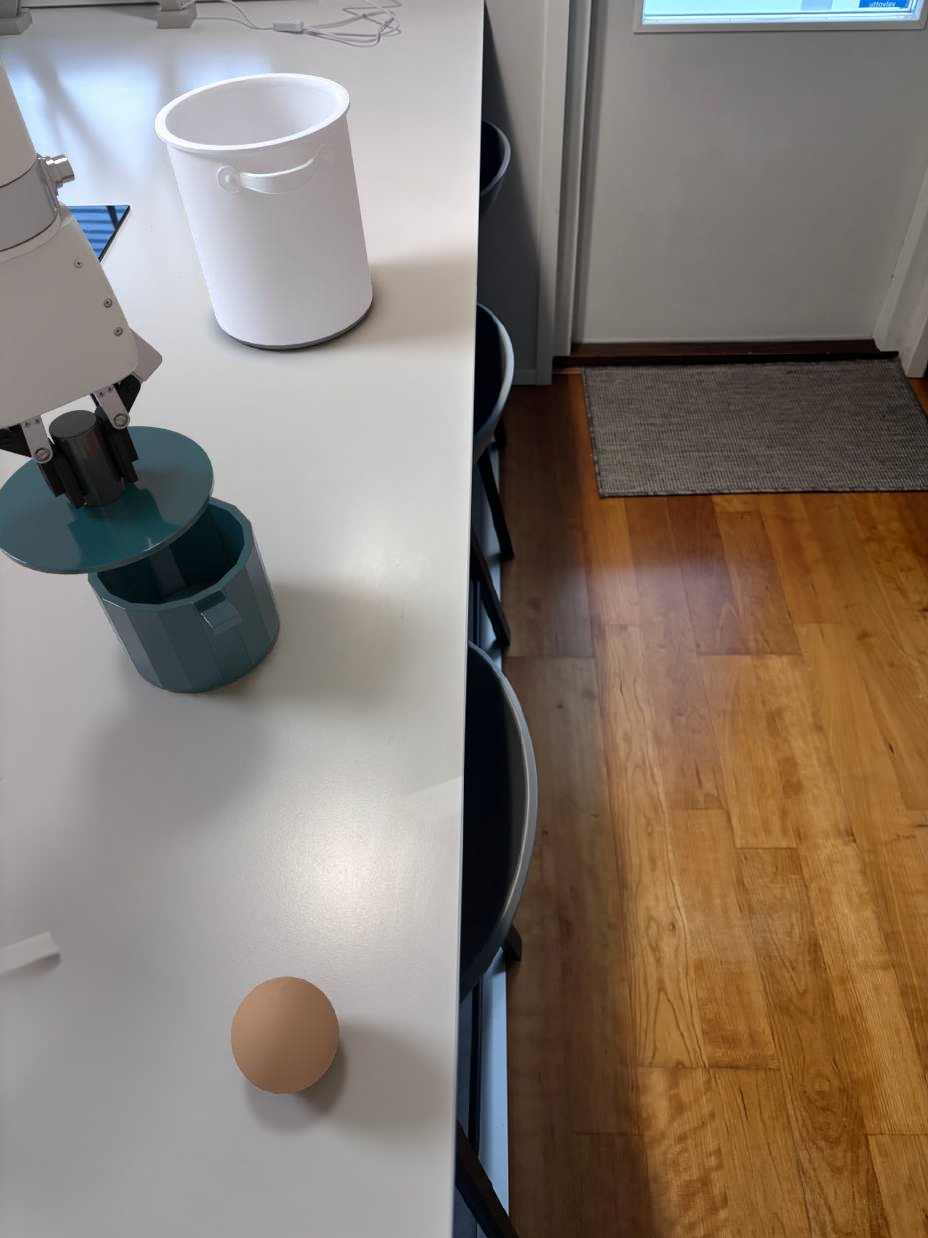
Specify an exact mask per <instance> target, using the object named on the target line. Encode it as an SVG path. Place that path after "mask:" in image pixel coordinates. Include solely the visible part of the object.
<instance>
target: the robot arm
mask: <svg viewBox="0 0 928 1238" xmlns="http://www.w3.org/2000/svg"><path fill="white" fill-rule="evenodd" d="M33 143H34V142H33V140H32V138H31V135H30V133H29V130H28V127H27V124H26V122H25V119H24V116H23V114H22V111H21V108H20V106H19V103H18V101H17V97H16V95H15V92H14V90H13V88H12V85H11V82H10V79H9V77H8V75H7V71H6V69H5V66H4V63H3V61H2V58H1V57H0V450H1V451H5V452H8V453H12V454H16V455H18V456H23V457H26V458H29V459H32V458H33V460H34V461H35V462H36V463H37V465H38V467H39V469H40V472H41V474H42V476H43V478H44V480H45V482H46V484H47V485H48V487H49V489H50V490H51V492H52V493H53V495H54V496H55V497H58V496H60V495H62V494H65V496H66V497H67V498H68V499H69V501H70V502H71V503H72V505H73V506H74V507H75V508H76V509H78V508H80V507H83V506H84V505H83V504H84V503H86V502H85V500H84V497H83V495H82V493H81V491H80V489H79V487H78V484H77V482H76V480H75V478H74V476H73V474H72V471H71V469H70V467H69V465H68V463H67V461H66V459H65V457H64V456H63V454H62V453H61V452H60V451H59V450H58V448H57V447H56V446H55V445H54V442H53V440H52V439H51V437H48V434H47V430H46V428H45V425H44V421H43V419H42V416H43V415H44V414H46V413H49V412H52V411H54V410H57V409H58V408H59V409H60V407H63V406H66V405H68V404H70V403H73V402H75V401H78V400H80V399H83V398H84V397H87V396H89V398H90V400H91V402H92V403H93V405H94V407H95V410H94V412H93V413H94V414H95V415H96V416H97V418H98V421H99V423H100V425H101V428H102V431H103V433H104V435H105V438H106V440H107V443H108V445H109V447H110V450H111V452H112V455H113V457H114V459H115V462H116V464H117V467H118V469H119V471H120V474H121V476H122V478H123V479H124V480H125V481H126V482H127V483H129V482H130V483H131V484H132V483H134V482H136V481H138V477H137V474H136V472H135V469H134V467H133V464H132V462H134V461H136V460H139V457H138V455H137V452H136V450H135V447H134V444H133V442H132V439H131V437H130V434H129V432H128V429H127V426H130V423H131V417H130V412H131V411H132V408H133V406H134V404H135V403H136V399H137V397H138V396H139V393H140V391H141V388H142V384H143V383H146V381H148V380H149V378H150V377H152V375H153V374H154V372H155V371H156V370H157V369H158V368H159V367H160V366H161V364H162V363H163V355H162V354H161V352H159V351H158V350H157V349H156V348H155V347H154V346H153V345H151V344H150V343H148V341H147V340H145V338H143V337H142V336H141V335H140V334H139V333H137V332H136V331H135V330H134V329H133V328H132V327H130V325H129V323H128V321H127V318H126V315H125V313H124V311H123V308H122V307H121V305H120V303H119V300H118V297H117V296H116V293H115V291H114V289H113V287H112V285H111V283H110V281H109V279H108V276H107V275H106V273H105V270H104V268H103V266H102V264H101V262H100V260H99V258H98V257H97V254H96V252H95V251H94V249H93V247H92V245H91V242H90V241H89V239H88V238H87V236H86V234H85V233H84V231H83V229H82V227H81V226H80V224H79V222H78V220H76V217H75V216H74V214H73V213H72V211H71V210H70V209H69V207H68V206H67V205H66V204H65V203H64V202H63V201H61V200H59V199H58V196H59V189H61V188H63V187H64V185H66V184H69V183H70V182H75V180H76V177H75V173H74V170H73V168H72V165H71V163H70V162H69V159H68V158H67V156H66V155H65V154H63V153H62V154H59V155H56V156H53V157H51V156H50V155H46V156H42V155H41V154H40V153H38V152H36V151H37V150H36V148H35V146H34V144H33Z"/></svg>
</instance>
